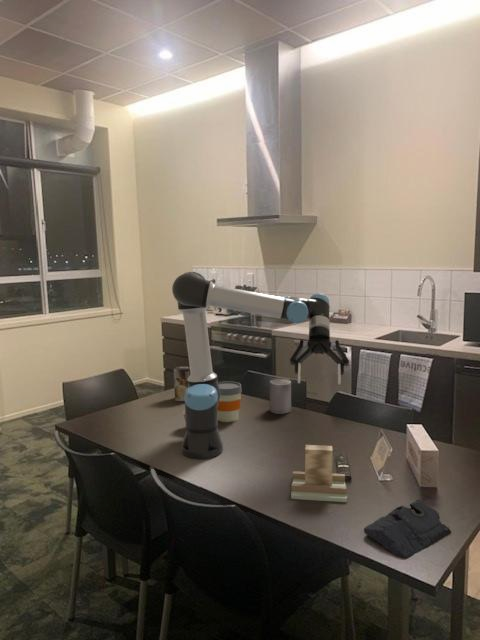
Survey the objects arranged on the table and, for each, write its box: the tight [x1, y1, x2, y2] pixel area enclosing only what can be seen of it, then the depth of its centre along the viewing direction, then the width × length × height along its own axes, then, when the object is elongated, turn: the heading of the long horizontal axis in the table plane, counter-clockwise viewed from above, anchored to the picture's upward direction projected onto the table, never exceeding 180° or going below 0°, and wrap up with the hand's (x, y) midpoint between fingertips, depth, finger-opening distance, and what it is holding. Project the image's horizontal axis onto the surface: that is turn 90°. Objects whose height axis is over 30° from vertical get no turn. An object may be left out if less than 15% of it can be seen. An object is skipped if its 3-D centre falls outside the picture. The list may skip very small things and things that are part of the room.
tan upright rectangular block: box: [304, 444, 334, 485], centre depth 148 cm, size 8×4×12 cm, turn 81°
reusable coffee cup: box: [217, 380, 243, 423], centre depth 211 cm, size 13×12×15 cm
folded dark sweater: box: [363, 499, 452, 560], centre depth 126 cm, size 15×22×5 cm
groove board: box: [290, 470, 348, 503], centre depth 148 cm, size 16×14×3 cm
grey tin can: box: [269, 378, 292, 415], centre depth 221 cm, size 10×10×15 cm
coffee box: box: [173, 365, 191, 402], centre depth 240 cm, size 9×6×16 cm
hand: (319, 381), depth 166 cm, fingers open, 13 cm apart
